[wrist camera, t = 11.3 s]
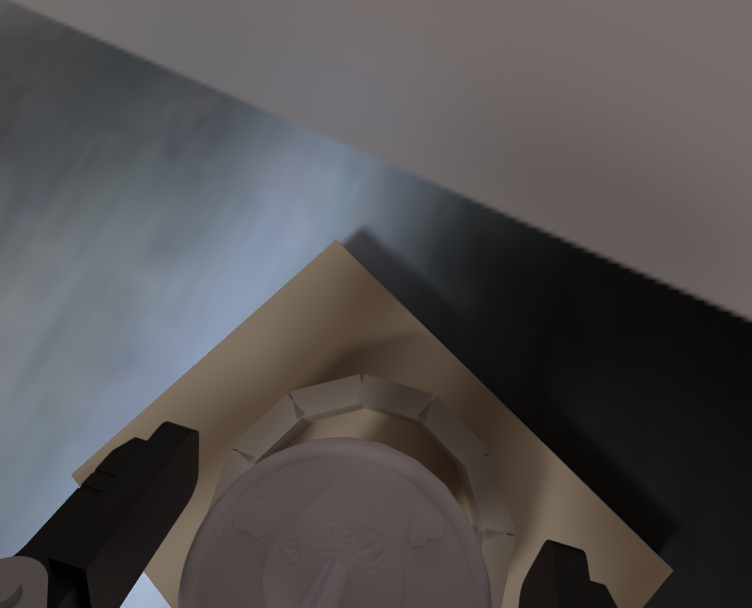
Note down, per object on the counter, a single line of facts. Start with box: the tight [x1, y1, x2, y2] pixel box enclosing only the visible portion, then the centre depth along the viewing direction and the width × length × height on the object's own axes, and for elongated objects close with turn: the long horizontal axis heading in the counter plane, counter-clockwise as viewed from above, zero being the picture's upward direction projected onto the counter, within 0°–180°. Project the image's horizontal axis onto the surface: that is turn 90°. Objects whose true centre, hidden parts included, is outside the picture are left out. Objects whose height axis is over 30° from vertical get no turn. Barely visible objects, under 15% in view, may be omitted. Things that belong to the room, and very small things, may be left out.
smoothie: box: [177, 437, 492, 608], centre depth 13 cm, size 6×6×14 cm
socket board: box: [72, 240, 673, 608], centre depth 19 cm, size 18×14×4 cm
